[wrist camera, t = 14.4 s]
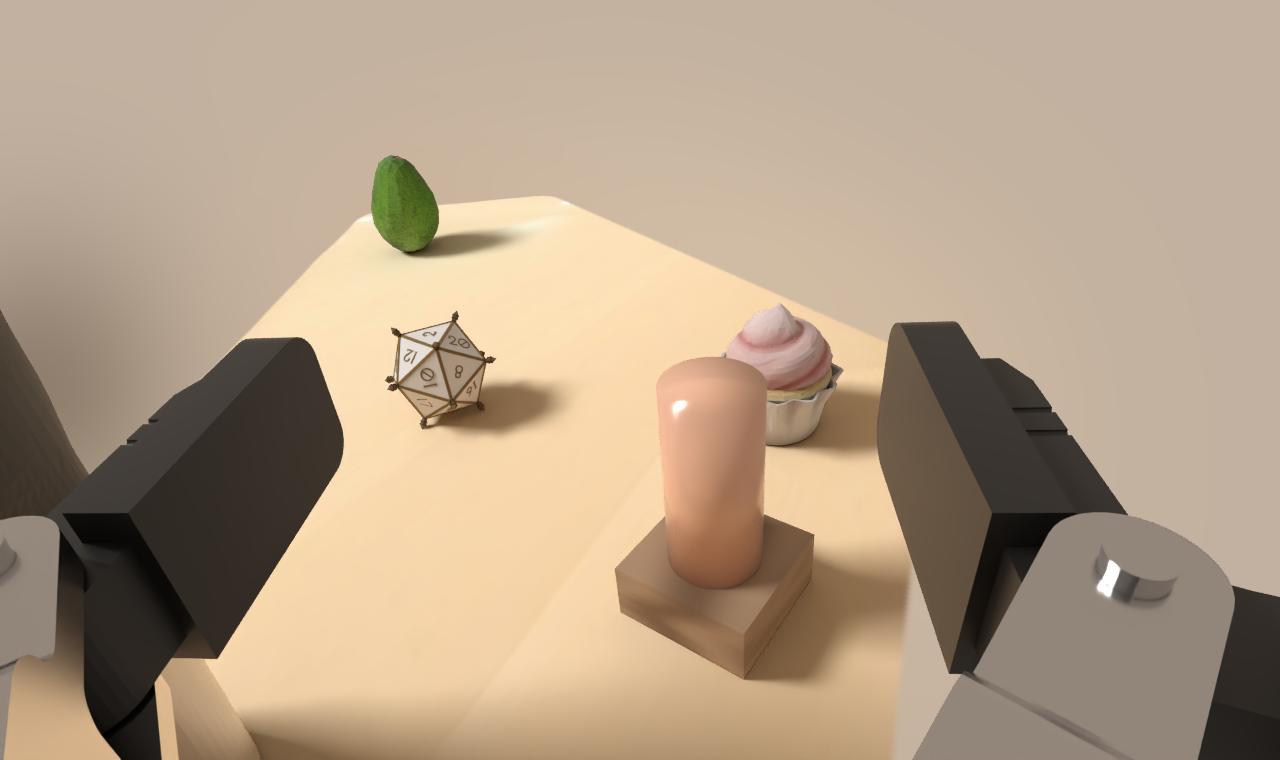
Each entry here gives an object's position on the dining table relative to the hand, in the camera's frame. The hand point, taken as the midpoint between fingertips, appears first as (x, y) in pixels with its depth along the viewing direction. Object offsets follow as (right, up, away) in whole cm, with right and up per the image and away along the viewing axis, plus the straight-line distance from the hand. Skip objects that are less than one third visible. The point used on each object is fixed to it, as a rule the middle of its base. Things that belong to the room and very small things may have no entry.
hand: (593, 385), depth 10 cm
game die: (-15, -3, +51) cm, 53 cm away
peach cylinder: (+5, -9, +30) cm, 32 cm away
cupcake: (+11, -3, +46) cm, 47 cm away
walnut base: (+5, -12, +32) cm, 35 cm away
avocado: (-28, +17, +83) cm, 90 cm away
